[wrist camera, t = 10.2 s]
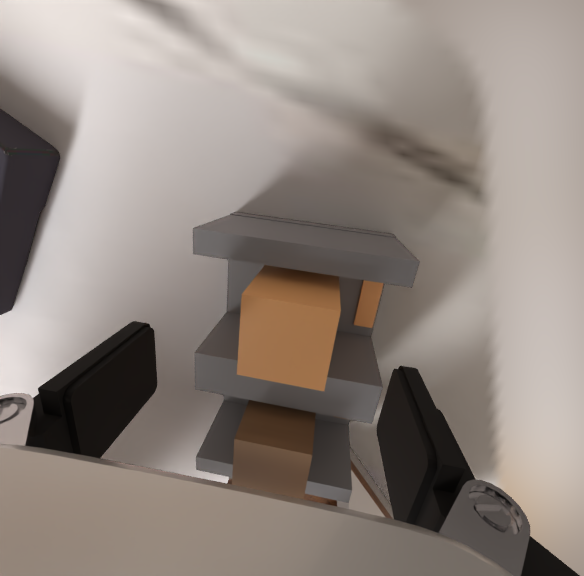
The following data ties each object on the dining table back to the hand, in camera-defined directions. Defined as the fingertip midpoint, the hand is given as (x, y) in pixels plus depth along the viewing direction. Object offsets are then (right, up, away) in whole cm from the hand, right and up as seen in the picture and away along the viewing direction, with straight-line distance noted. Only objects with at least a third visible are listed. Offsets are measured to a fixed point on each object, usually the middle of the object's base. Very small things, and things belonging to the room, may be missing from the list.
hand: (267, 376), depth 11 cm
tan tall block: (+2, +4, +8) cm, 8 cm away
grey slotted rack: (+1, 0, +10) cm, 10 cm away
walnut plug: (+1, -4, +11) cm, 11 cm away
